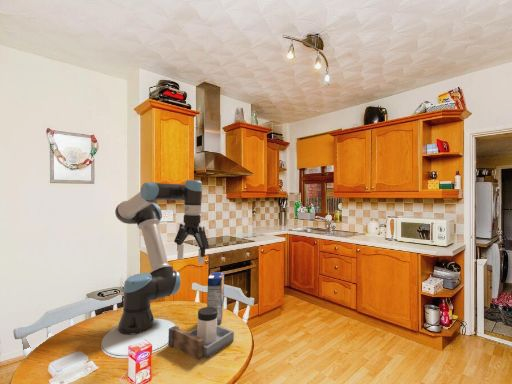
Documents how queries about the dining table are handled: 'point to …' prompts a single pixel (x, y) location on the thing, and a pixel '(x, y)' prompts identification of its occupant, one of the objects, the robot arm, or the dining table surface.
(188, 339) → the door board
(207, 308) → the jar
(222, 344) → the tray
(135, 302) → the robot arm
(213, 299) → the beverage box
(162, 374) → the dining table surface
